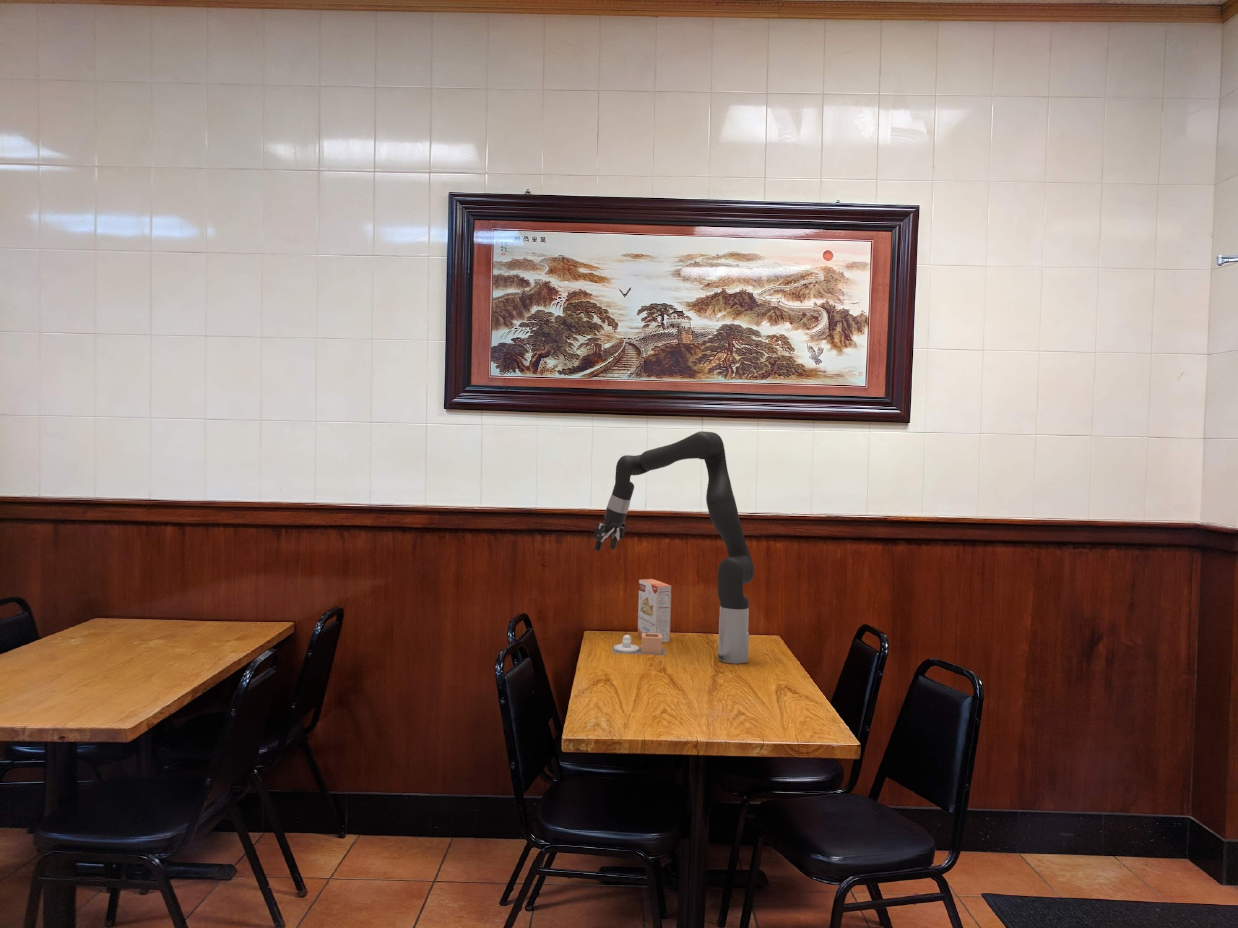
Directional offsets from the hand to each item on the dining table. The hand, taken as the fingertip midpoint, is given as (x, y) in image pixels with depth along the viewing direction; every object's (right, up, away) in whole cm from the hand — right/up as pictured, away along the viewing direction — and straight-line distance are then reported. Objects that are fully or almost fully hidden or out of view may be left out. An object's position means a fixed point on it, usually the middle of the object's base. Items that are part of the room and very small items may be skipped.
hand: (604, 549), depth 295 cm
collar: (+16, -30, -31) cm, 46 cm away
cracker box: (+17, -31, -12) cm, 37 cm away
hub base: (+12, -31, -31) cm, 45 cm away
